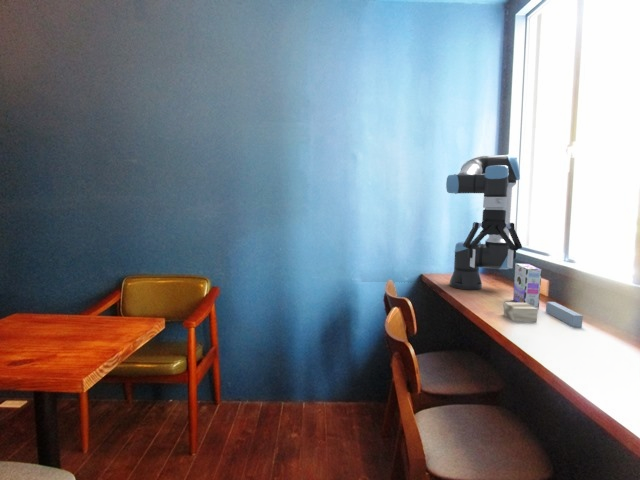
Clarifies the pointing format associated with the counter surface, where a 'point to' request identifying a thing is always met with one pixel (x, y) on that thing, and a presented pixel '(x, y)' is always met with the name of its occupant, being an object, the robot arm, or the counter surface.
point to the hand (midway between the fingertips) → (490, 267)
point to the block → (520, 311)
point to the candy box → (527, 284)
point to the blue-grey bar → (564, 314)
